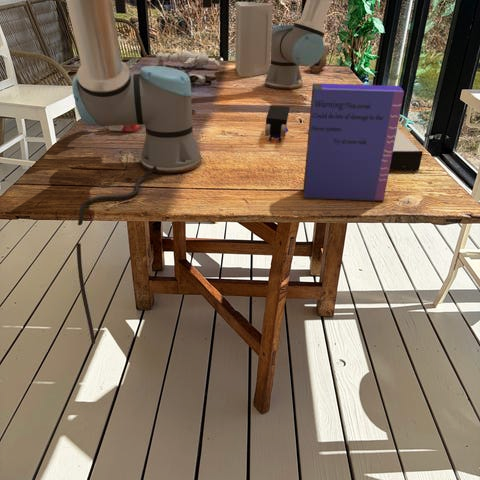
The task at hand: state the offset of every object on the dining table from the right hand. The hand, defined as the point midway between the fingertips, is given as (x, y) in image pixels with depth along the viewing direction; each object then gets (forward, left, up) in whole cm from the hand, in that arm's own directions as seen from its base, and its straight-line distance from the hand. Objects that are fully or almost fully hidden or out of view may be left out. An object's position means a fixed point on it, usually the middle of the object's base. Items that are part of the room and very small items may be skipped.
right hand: (211, 5), depth 159 cm
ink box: (+29, -31, -31) cm, 53 cm away
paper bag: (-46, +24, -31) cm, 61 cm away
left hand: (+29, -31, 0) cm, 42 cm away
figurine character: (+42, +14, -31) cm, 55 cm away
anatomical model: (-46, +54, -31) cm, 77 cm away
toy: (-59, -4, -31) cm, 67 cm away
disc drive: (+61, +36, -31) cm, 77 cm away
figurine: (-26, -10, -31) cm, 42 cm away
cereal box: (+83, +19, -31) cm, 91 cm away
